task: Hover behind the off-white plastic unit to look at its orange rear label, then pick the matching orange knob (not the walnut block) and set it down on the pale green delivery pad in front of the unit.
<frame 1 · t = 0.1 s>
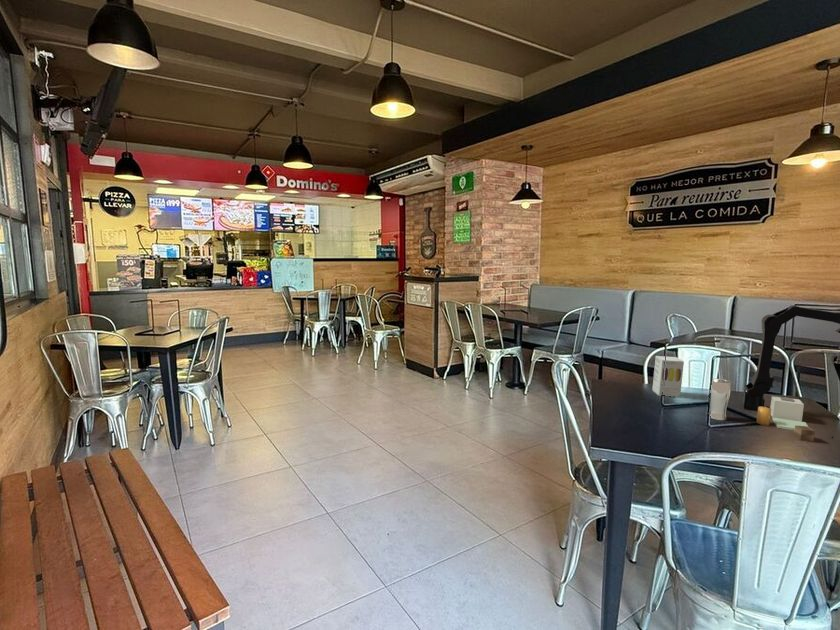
beer glass: (716, 418, 180), on the table
unit: (785, 417, 182), on the table
orange knob: (762, 423, 175), on the table
walnut block: (803, 438, 160), on the table
delivery pad: (791, 426, 172), on the table
supplement box: (665, 394, 210), on the table
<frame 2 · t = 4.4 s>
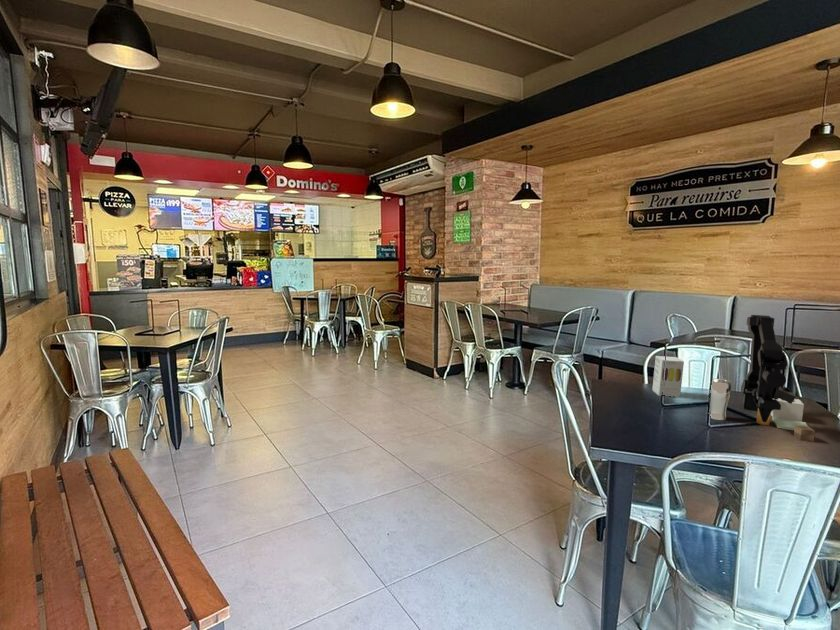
hand: (763, 420, 175), 1 cm above the table, fingers closed on orange knob, 4 cm apart
orange knob: (762, 423, 175), on the table, touching gripper
everything else where it was.
when the fingers open (4 cm above the table, at t = 7.6 s): orange knob drops 1 cm, resting on delivery pad.
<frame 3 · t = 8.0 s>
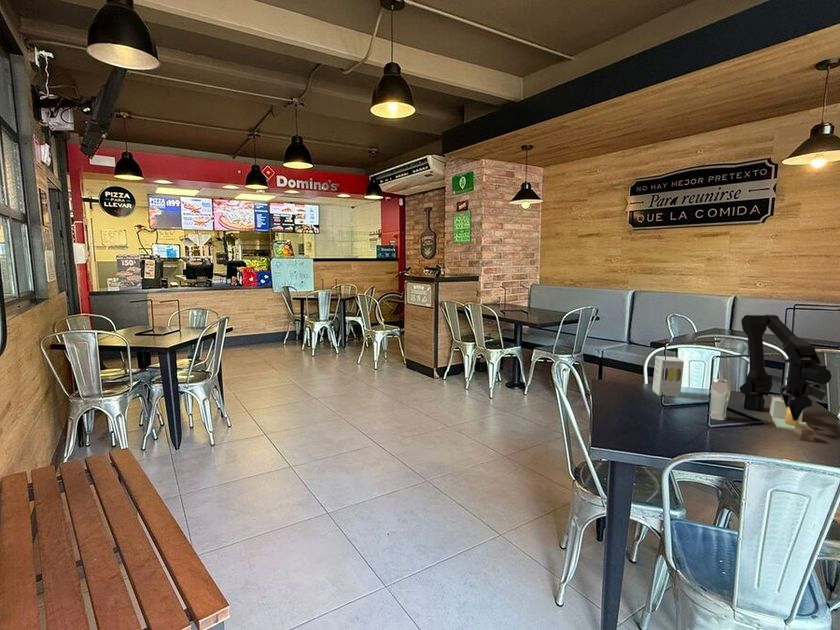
hand: (792, 417, 172), 3 cm above the table, fingers open, 8 cm apart
orange knob: (791, 423, 172), point 1 cm above the table, touching delivery pad
everything else where it was.
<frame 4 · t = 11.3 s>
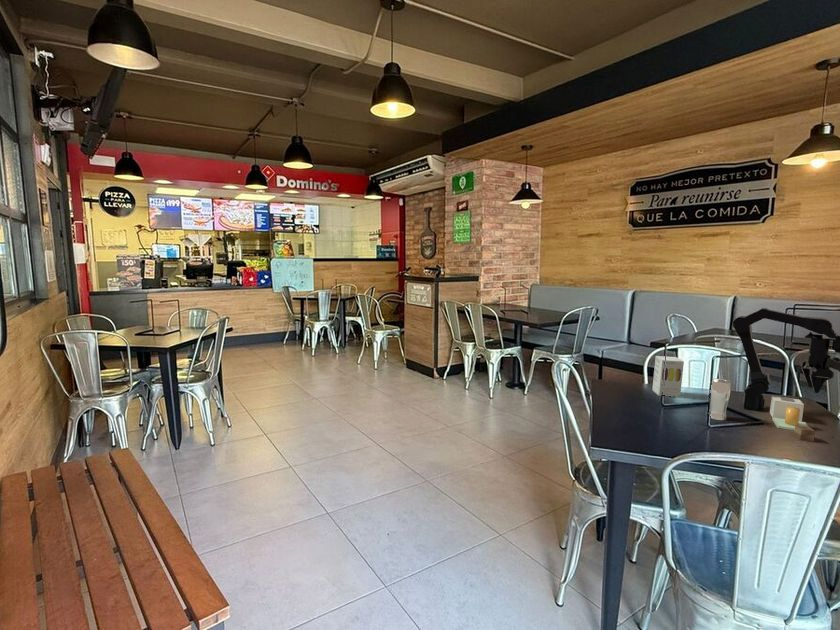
hand: (813, 389, 178), 12 cm above the table, fingers open, 9 cm apart
nothing on the table moved.
at the end: orange knob inside the target area on the delivery pad (0.0 cm from its centre), point 0.9 cm above the delivery pad's base; orange knob tilted 2°; the gripper is holding nothing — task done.
